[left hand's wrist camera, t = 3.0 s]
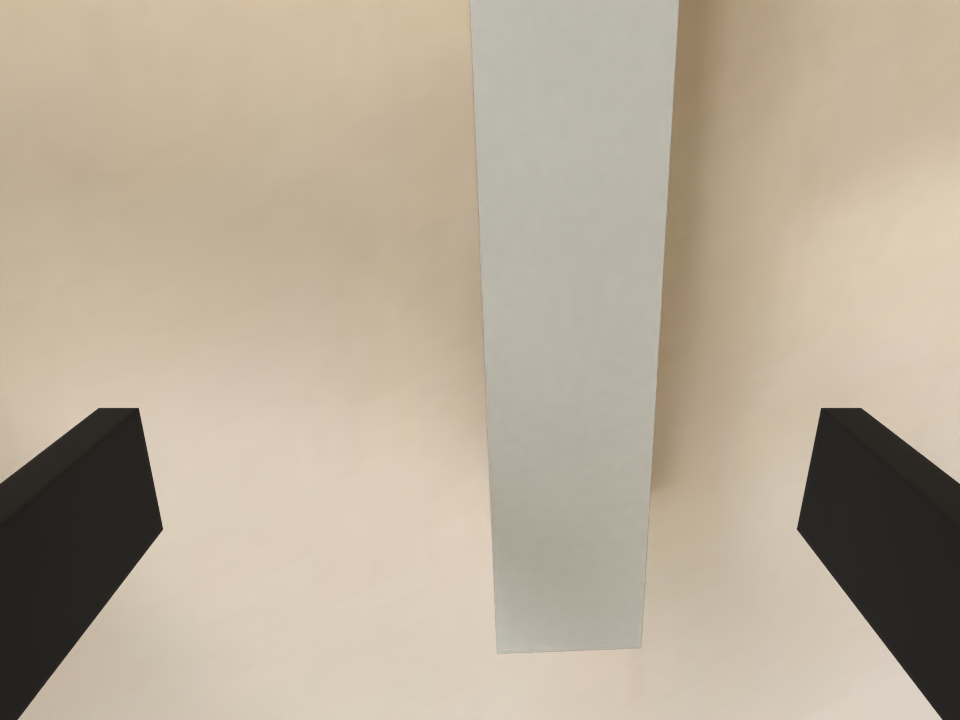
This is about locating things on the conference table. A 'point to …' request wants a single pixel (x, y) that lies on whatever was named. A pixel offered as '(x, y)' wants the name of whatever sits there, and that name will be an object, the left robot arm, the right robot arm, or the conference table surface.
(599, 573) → the bar
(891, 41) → the conference table surface
